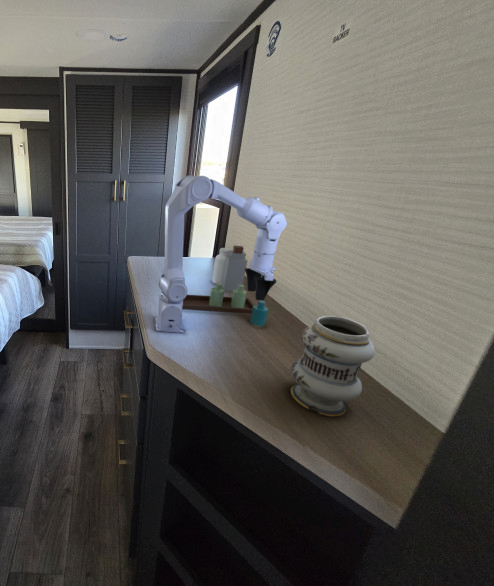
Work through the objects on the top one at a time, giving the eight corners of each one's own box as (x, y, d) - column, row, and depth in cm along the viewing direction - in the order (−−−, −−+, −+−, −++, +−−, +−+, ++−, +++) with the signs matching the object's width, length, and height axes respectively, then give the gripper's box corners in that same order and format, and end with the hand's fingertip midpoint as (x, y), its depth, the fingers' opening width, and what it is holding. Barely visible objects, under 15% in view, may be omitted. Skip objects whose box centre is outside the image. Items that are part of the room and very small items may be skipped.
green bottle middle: (223, 308, 108) (226, 286, 106) (210, 307, 109) (213, 286, 106) (220, 303, 112) (223, 282, 110) (207, 302, 113) (210, 281, 110)
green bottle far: (245, 309, 108) (249, 288, 105) (232, 308, 108) (236, 287, 105) (241, 304, 112) (245, 283, 109) (229, 303, 112) (232, 283, 109)
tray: (257, 316, 105) (258, 310, 104) (179, 311, 107) (180, 305, 107) (247, 303, 115) (248, 298, 114) (176, 299, 117) (177, 293, 116)
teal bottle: (266, 328, 97) (272, 304, 94) (251, 327, 97) (257, 304, 94) (261, 322, 101) (266, 299, 98) (247, 321, 101) (252, 298, 98)
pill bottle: (207, 281, 138) (212, 247, 132) (221, 279, 141) (226, 246, 135) (221, 286, 131) (226, 252, 126) (235, 284, 134) (241, 250, 129)
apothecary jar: (282, 404, 65) (304, 327, 58) (287, 375, 74) (307, 306, 68) (354, 430, 59) (388, 347, 52) (350, 395, 68) (378, 321, 61)
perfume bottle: (241, 293, 125) (249, 249, 118) (223, 291, 126) (230, 248, 119) (237, 287, 131) (245, 245, 124) (221, 286, 132) (228, 244, 125)
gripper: (289, 259, 85) (278, 305, 90) (269, 247, 98) (260, 287, 103) (262, 258, 86) (252, 303, 91) (246, 246, 99) (238, 286, 104)
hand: (255, 295), depth 97 cm, fingers open, 7 cm apart
